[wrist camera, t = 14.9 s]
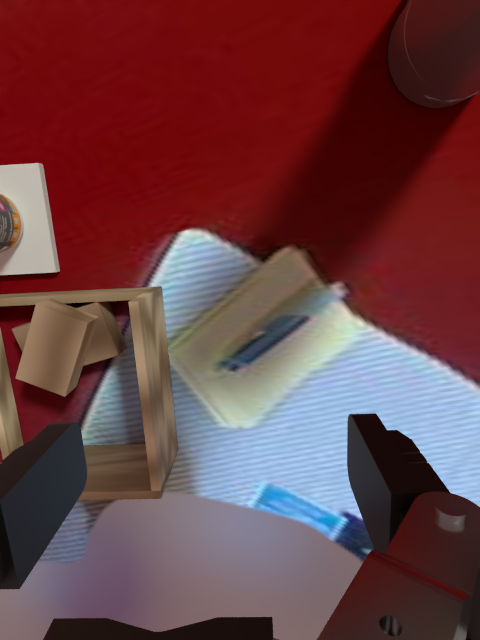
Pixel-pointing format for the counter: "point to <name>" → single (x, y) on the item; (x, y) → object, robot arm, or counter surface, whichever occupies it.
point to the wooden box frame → (155, 396)
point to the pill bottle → (9, 224)
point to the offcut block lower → (104, 338)
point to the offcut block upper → (56, 346)
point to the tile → (29, 221)
